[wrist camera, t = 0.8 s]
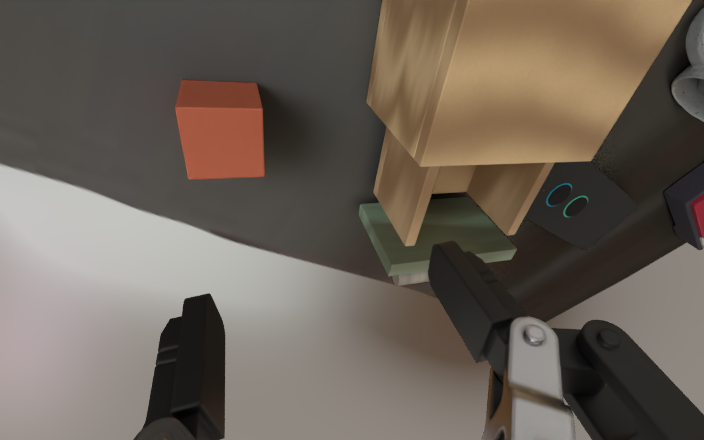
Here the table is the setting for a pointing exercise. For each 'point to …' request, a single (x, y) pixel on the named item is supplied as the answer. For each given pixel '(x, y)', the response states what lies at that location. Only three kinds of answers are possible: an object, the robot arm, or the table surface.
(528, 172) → the drawer
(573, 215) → the smart home device
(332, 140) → the table surface
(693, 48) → the ceramic mug
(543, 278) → the table surface
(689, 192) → the calculator
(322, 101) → the table surface
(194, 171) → the block
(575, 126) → the cabinet
